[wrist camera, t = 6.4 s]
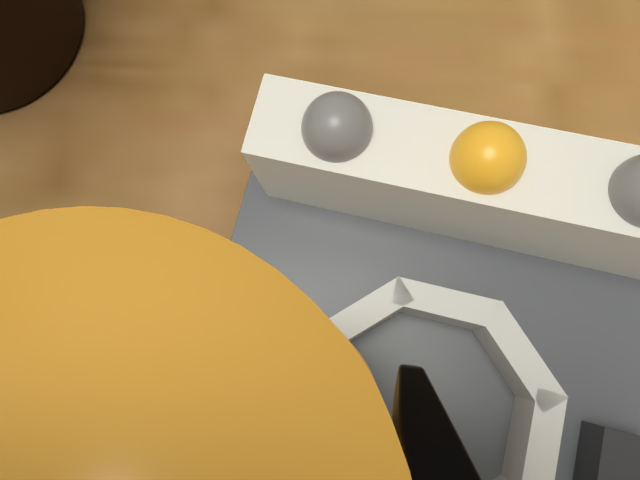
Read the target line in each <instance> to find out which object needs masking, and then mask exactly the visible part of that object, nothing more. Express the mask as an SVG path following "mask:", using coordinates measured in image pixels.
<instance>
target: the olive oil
mask: <svg viewBox="0 0 640 480" xmlns="http://www.w3.org/2000/svg"><path fill="white" fill-rule="evenodd" d="M83 21H84V16H83V7H82V2H81V0H0V113H1V112H5V111H8V110H12V109H15V108H17V107H20V106H22V105H24V104H26V103H28V102H30V101H32V100H33V99H35V98H37V97H38V96H40V95H41V94H42V93H44V92H45V91H46V90H47V89H49V88H50V87H51V86H52V85H53V84H54V83H55V82H56V81H57V80H58V79H59V78H60V77H61V76H62V74H63V73H64V72H65V70H66V69H67V68H68V66H69V65H70V63H71V61H72V59H73V58H74V56H75V54H76V51H77V49H78V46H79V43H80V40H81V36H82V31H83Z"/></svg>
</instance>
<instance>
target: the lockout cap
mask: <svg viewBox="0 0 640 480" xmlns="http://www.w3.org/2000/svg"><path fill="white" fill-rule="evenodd" d="M0 480H412V478H411V474H410V470H409V467H408V464H407V461H406V458H405V455H404V453H403V450H402V447H401V444H400V441H399V438H398V436H397V433H396V430H395V427H394V424H393V421H392V419H391V417H390V414H389V412H388V410H387V407H386V405H385V403H384V400H383V398H382V396H381V393H380V391H379V389H378V386H377V384H376V382H375V379H374V377H373V375H372V372H371V370H370V368H369V366H368V364H367V362H366V361H365V360H364V358H363V357H362V355H361V354H360V352H359V351H358V350H357V349H356V348H355V347H354V346H353V344H352V343H351V342H350V341H349V340H348V339H347V338H346V337H345V336H344V334H343V333H342V332H341V331H340V330H339V329H338V328H337V327H336V326H335V325H334V323H333V322H332V321H331V320H330V319H329V318H328V317H327V316H326V315H325V314H324V312H323V311H322V310H321V309H320V308H319V307H318V306H317V305H316V304H315V303H314V301H313V300H312V299H311V298H309V297H308V296H307V295H306V294H305V293H304V292H303V291H301V290H300V289H299V288H298V287H297V286H296V285H295V284H293V283H292V282H291V281H290V280H289V279H288V278H287V277H285V276H284V275H283V274H282V273H281V272H280V271H279V270H277V269H276V268H274V267H273V266H271V265H270V264H268V263H267V262H265V261H264V260H262V259H261V258H259V257H258V256H256V255H255V254H253V253H252V252H250V251H249V250H247V249H246V248H244V247H243V246H241V245H239V244H237V243H234V242H232V241H230V240H228V239H226V238H224V237H222V236H220V235H218V234H216V233H214V232H212V231H209V230H207V229H205V228H203V227H200V226H197V225H194V224H191V223H188V222H184V221H181V220H178V219H175V218H172V217H169V216H166V215H162V214H156V213H150V212H145V211H139V210H133V209H128V208H117V207H93V206H78V207H67V208H56V209H44V210H38V211H34V212H29V213H25V214H20V215H16V216H11V217H6V218H2V219H0Z"/></svg>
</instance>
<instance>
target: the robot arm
mask: <svg viewBox="0 0 640 480" xmlns="http://www.w3.org/2000/svg"><path fill="white" fill-rule="evenodd" d="M392 421H393V424H394V427H395V430H396V433H397V436H398V438H399V441H400V444H401V447H402V450H403V453H404V455H405V458H406V461H407V464H408V467H409V470H410V474H411V478H412V480H482V479H481V477H480V475H479V473H478V471H477V469H476V467H475V465H474V463H473V461H472V460H471V458H470V456H469V454H468V452H467V450H466V448H465V446H464V444H463V442H462V440H461V438H460V437H459V435H458V433H457V431H456V429H455V427H454V425H453V423H452V421H451V419H450V417H449V415H448V414H447V412H446V410H445V408H444V406H443V404H442V402H441V400H440V398H439V396H438V394H437V392H436V391H435V389H434V387H433V385H432V383H431V381H430V379H429V377H428V375H427V373H426V371H425V370H424V368H422V367H421V366H414V365H407V364H401V365H400V366H399V368H398V372H397V379H396V385H395V391H394V398H393V407H392Z"/></svg>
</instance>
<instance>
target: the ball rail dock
mask: <svg viewBox="0 0 640 480" xmlns="http://www.w3.org/2000/svg"><path fill="white" fill-rule="evenodd" d="M241 154H242V155H243V157H244V158H245V160H246V162H247V163H248V165H249V167H250V168H251V170H252V171H251V174H250V177H249V181H248V184H247V188H246V191H245V194H244V198H243V201H242V205H241V208H240V211H239V215H238V218H237V222H236V225H235V228H234V232H233V235H232V239H231V241H232V242H234V243H237V244H239V245H241V246H243V247H244V248H246V249H247V250H249V251H250V252H252V253H253V254H255V255H256V256H258V257H259V258H261V259H262V260H264V261H265V262H267V263H268V264H270V265H271V266H273V267H274V268H276V269H277V270H279V271H280V272H281V273H282V274H283V275H284V276H285V277H287V278H288V279H289V280H290V281H291V282H292V283H293V284H295V285H296V286H297V287H298V288H299V289H300V290H301V291H303V292H304V293H305V294H306V295H307V296H308V297H309V298H311V299H312V300H313V301H314V303H315V304H316V305H317V306H318V307H319V308H320V309H321V310H322V311H323V312H324V314H325V315H326V316H327V317H328V318H329V319H330V320H331V321H332V322H333V323H334V325H335V326H336V327H337V328H338V329H339V330H340V331H341V332H342V333H343V334H344V336H345V337H346V338H347V339H348V340H349V341H350V342H351V343H352V344H353V346H354V347H355V348H356V349H357V350H358V351H359V352H360V354H361V355H362V357H363V358H364V360H365V361H366V362H367V364H368V366H369V368H370V370H371V372H372V375H373V377H374V379H375V382H376V384H377V386H378V389H379V391H380V393H381V396H382V398H383V400H384V403H385V405H386V407H387V410H388V412H389V414H390V417H391V419H392V407H393V398H394V391H395V385H396V379H397V372H398V368H399V366H400V365H401V364H407V365H414V366H421V367H422V368H424V370H425V371H426V373H427V375H428V377H429V379H430V381H431V383H432V385H433V387H434V389H435V391H436V392H437V394H438V396H439V398H440V400H441V402H442V404H443V406H444V408H445V410H446V412H447V414H448V415H449V417H450V419H451V421H452V423H453V425H454V427H455V429H456V431H457V433H458V435H459V437H460V438H461V440H462V442H463V444H464V446H465V448H466V450H467V452H468V454H469V456H470V458H471V460H472V461H473V463H474V465H475V467H476V469H477V471H478V473H479V475H480V477H481V479H482V480H640V146H639V145H634V144H629V143H623V142H618V141H613V140H608V139H603V138H597V137H592V136H587V135H582V134H577V133H571V132H566V131H561V130H556V129H551V128H545V127H540V126H535V125H530V124H525V123H519V122H514V121H509V120H504V119H499V118H494V117H488V116H483V115H478V114H473V113H468V112H462V111H457V110H452V109H447V108H442V107H436V106H431V105H426V104H421V103H416V102H410V101H405V100H400V99H395V98H390V97H384V96H379V95H374V94H369V93H364V92H359V91H353V90H348V89H343V88H338V87H333V86H327V85H322V84H317V83H312V82H307V81H301V80H296V79H291V78H286V77H281V76H275V75H270V74H265V73H264V76H263V80H262V83H261V86H260V90H259V93H258V96H257V100H256V103H255V106H254V110H253V113H252V116H251V120H250V123H249V126H248V129H247V133H246V136H245V139H244V143H243V146H242V149H241Z"/></svg>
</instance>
